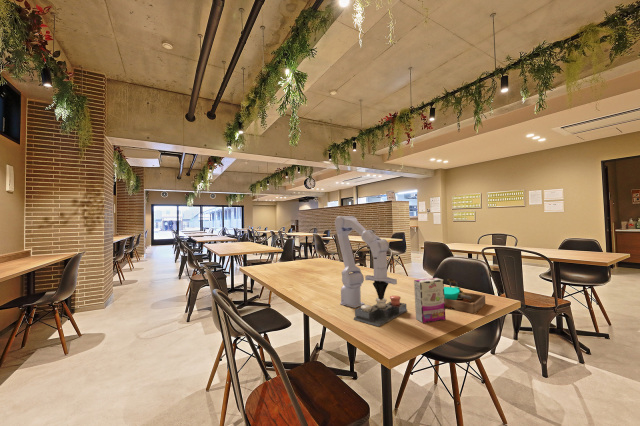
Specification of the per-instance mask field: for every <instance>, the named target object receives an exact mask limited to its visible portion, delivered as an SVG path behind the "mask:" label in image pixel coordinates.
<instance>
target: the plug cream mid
mask: <svg viewBox="0 0 640 426" xmlns="http://www.w3.org/2000/svg"><path fill="white" fill-rule="evenodd" d="M375 302H376V304H377V308H381V309H384V308H386V304H387V298H385V297H384V299H379V298H378V297H376V298H375Z"/></svg>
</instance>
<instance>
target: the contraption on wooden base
mask: <svg viewBox="0 0 640 426" xmlns="http://www.w3.org/2000/svg"><path fill="white" fill-rule="evenodd" d="M447 282H448V283H449V286H444V299H450V300H456V301H461V302H467V303H472V302H470V301H469V300H467V299H471V296H466V295H464V292H465V291H463V290H461V287H460V286H459V284H458V282H457V281H456V280H454V279H452V278H447ZM452 283H453V285H455V286H452ZM463 298H464V299H463ZM445 309H448V310H454V308H452V307H451V306H449V305H445Z"/></svg>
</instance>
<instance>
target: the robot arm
mask: <svg viewBox="0 0 640 426" xmlns="http://www.w3.org/2000/svg"><path fill="white" fill-rule="evenodd" d="M334 229H335V231H336V234H337V239H338V245H339V248H340V252H341V253H340V254H341V256H342V261H343V265H344V268H343V270H342V271H341V281H342V282H341V283H342V284H343V286H342V287H341V289H340V303H339V304H340V305H343V306H345V307H349V308H350V307H351V308H353V309H357V308H360V307H361V306H362V305H365V302H362V298H361V297H362V296H361V293H362V291H361V287H362V284H364V279H365V281H373V282H372V285H373V287H374V289H375V291H376V294H377V298H379V299H384V298H385V294H386V290H387V288H388V286H389V284H392V285H397V284H398V281H397V280H398V279H397V278H392V277H388V265H387V264H388V262H387V261H388V260H387V252H388V251H389V250H390V244H389V242H388V241H387V240H386V239H385V238H381V237H380V236H378V235H376V234H375V233H374V231H373V230H371V229H366V228H365V227H364V226H363V225H362V224H361V223H360V222H359V221H358V218H356V217H355V216H354V215H345V216H344V215H338V216H336V218H335V219H334ZM352 231H355V232H356V233H357V234H358V235H360V236H361V239H362V241H363V242H365V244H367V245H368V246H369V249H370V252H371V256H372V258H373V259H372V260H373V261H372V262H373V263H372V264H373V275H372V274H371V275H369V274H367V275H365V278H364V275H363V273H362V271H361V268H360V267H359V266H357V265H356V262H355V257H354V255H353V250H352V249H353V248H352V246H351V242H350V238H349V234H350V233H352Z"/></svg>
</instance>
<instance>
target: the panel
mask: <svg viewBox="0 0 640 426" xmlns="http://www.w3.org/2000/svg"><path fill="white" fill-rule="evenodd" d="M371 306H372V309H371V311H369V312H367V311H363V310H362V309H361V306H359V307H357V308H354V317H353V320H354V321H358V322H360V323H363V324H364V323H365V324H368V325H371V326H375V327H378V328H380V327H382V326H383V325H385V324H387V323H389V322H390V321H392V320H393V319H396V318H397V317H399V316H401V315H403V314H404V313H406V312H407V311H408V309H407V303H403V302H400V305H399V306H393V305H391V301H389V302H386V308H384V309H381V308H377V303H375V304H374V305H371Z"/></svg>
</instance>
